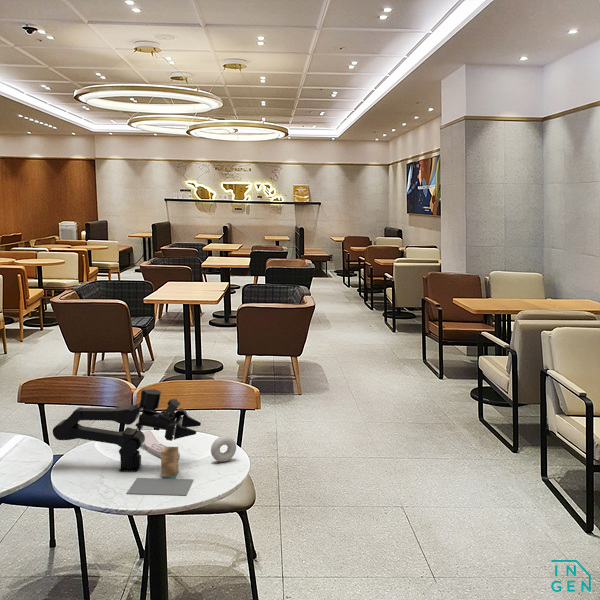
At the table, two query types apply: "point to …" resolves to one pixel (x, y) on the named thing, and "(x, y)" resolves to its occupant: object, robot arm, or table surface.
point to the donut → (217, 445)
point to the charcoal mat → (160, 486)
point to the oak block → (169, 462)
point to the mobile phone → (154, 444)
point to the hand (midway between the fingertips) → (198, 428)
